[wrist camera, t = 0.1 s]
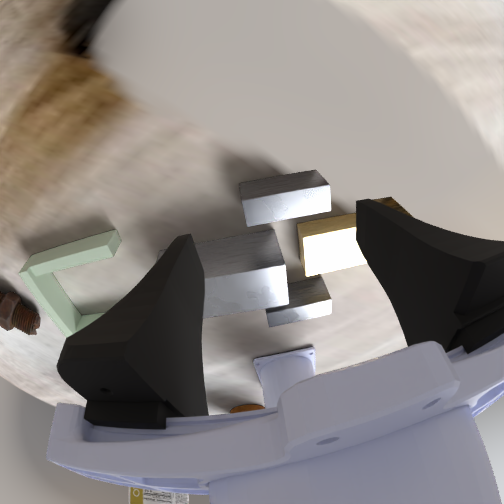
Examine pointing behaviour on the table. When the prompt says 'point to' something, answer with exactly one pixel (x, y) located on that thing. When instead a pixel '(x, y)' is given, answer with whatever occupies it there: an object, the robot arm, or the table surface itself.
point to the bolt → (17, 314)
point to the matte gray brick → (242, 273)
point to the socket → (285, 207)
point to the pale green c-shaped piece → (60, 258)
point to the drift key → (333, 241)
